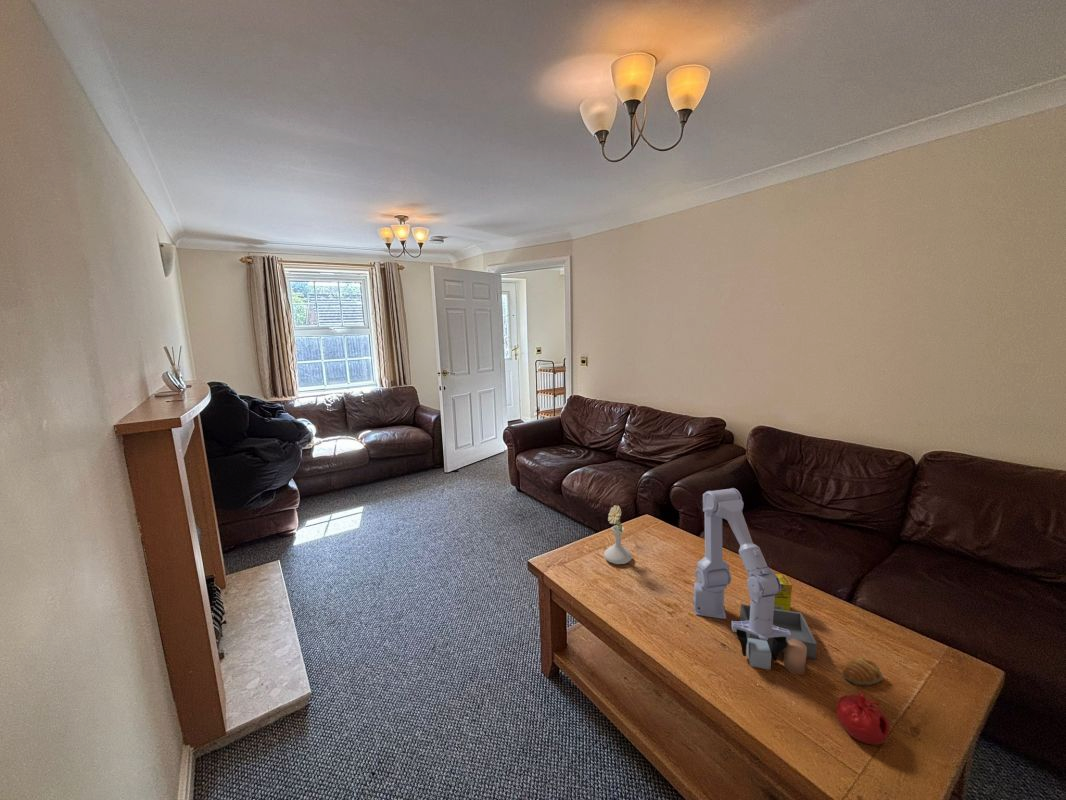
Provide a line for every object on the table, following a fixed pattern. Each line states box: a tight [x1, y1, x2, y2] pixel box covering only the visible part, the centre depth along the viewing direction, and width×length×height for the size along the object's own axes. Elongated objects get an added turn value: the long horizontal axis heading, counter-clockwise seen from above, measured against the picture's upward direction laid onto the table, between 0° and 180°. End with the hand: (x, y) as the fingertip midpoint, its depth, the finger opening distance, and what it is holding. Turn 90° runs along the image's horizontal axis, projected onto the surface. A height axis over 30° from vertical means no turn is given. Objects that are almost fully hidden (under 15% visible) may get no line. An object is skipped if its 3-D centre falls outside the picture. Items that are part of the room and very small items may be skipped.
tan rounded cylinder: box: [783, 638, 807, 676], centre depth 114 cm, size 5×5×7 cm
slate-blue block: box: [746, 638, 772, 670], centre depth 117 cm, size 5×5×5 cm
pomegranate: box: [835, 690, 891, 745], centre depth 95 cm, size 10×10×9 cm
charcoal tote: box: [739, 603, 818, 660], centre depth 125 cm, size 17×13×5 cm
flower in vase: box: [603, 505, 633, 565], centre depth 167 cm, size 13×11×25 cm
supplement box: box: [774, 573, 793, 611], centre depth 137 cm, size 6×6×11 cm
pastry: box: [842, 657, 884, 686], centre depth 110 cm, size 9×7×4 cm
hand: (758, 656), depth 117 cm, fingers open, 7 cm apart
